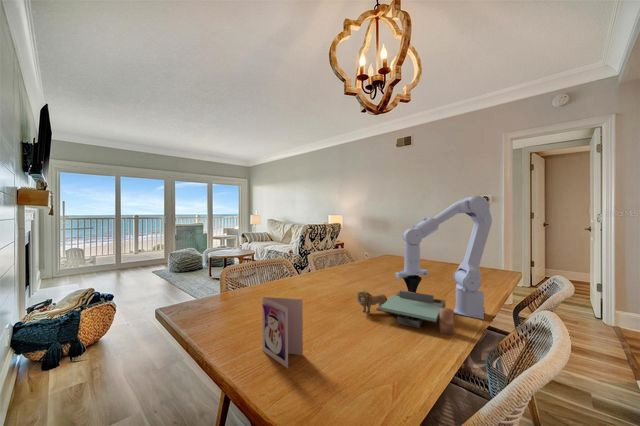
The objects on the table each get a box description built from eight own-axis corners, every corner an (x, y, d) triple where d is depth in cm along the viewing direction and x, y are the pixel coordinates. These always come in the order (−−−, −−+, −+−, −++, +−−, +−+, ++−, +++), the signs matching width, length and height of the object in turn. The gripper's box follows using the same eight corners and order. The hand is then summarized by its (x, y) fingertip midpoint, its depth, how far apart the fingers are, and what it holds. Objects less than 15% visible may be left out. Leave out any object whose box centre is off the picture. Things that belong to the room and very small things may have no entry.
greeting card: (260, 351, 71) (259, 297, 71) (282, 342, 76) (281, 291, 76) (285, 370, 63) (284, 308, 63) (307, 357, 68) (307, 301, 68)
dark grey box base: (445, 310, 100) (445, 300, 100) (437, 332, 83) (437, 319, 82) (398, 301, 110) (398, 292, 110) (382, 319, 92) (382, 308, 92)
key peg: (454, 330, 83) (454, 309, 83) (452, 336, 80) (452, 313, 80) (440, 327, 86) (440, 306, 85) (438, 332, 82) (438, 310, 82)
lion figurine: (361, 317, 94) (361, 293, 94) (353, 312, 99) (353, 289, 98) (393, 311, 100) (393, 288, 99) (385, 306, 104) (385, 284, 104)
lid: (442, 306, 93) (442, 296, 93) (436, 321, 81) (436, 310, 81) (393, 297, 103) (393, 288, 103) (380, 309, 90) (380, 299, 90)
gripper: (404, 263, 94) (404, 300, 94) (434, 260, 99) (434, 295, 100) (391, 259, 100) (391, 294, 100) (420, 257, 106) (420, 290, 106)
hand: (412, 294), depth 100 cm, fingers closed
